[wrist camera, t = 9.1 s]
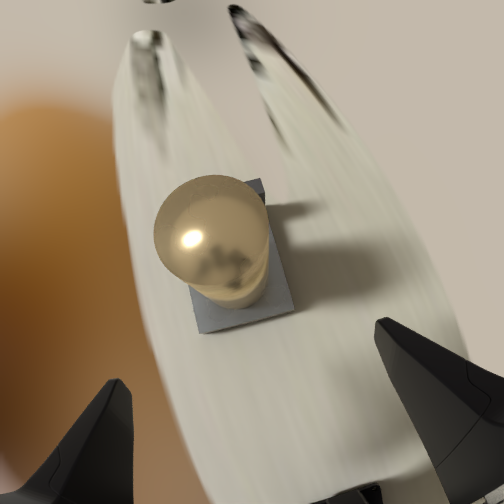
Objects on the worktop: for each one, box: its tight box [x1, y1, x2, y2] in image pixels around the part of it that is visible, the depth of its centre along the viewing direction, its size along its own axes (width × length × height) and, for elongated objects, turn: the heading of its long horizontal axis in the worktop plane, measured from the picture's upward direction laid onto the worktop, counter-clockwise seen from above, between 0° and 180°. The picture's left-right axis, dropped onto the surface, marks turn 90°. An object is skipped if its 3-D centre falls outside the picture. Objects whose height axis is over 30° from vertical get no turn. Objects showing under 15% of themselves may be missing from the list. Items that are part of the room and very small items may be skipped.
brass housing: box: [154, 175, 269, 310], centre depth 17 cm, size 5×5×10 cm
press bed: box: [189, 178, 295, 334], centre depth 21 cm, size 9×7×4 cm
